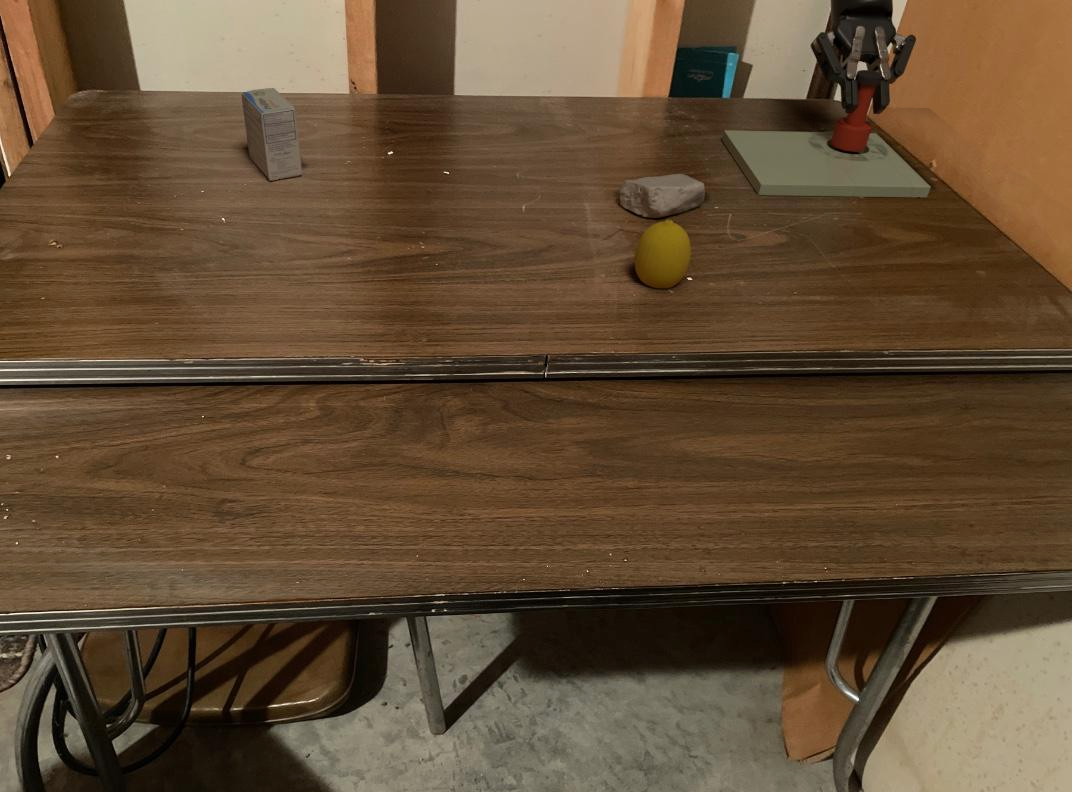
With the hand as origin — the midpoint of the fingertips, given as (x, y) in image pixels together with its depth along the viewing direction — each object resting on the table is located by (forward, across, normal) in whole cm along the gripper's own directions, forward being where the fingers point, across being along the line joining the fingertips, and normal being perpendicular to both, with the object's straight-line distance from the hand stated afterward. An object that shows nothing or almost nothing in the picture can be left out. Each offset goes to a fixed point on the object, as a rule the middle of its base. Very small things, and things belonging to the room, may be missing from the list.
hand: (866, 110), depth 120 cm
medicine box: (+9, -77, +2) cm, 78 cm away
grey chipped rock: (+16, -29, -6) cm, 33 cm away
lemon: (+30, -34, -20) cm, 49 cm away
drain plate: (+6, -5, +4) cm, 9 cm away
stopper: (+2, 0, +5) cm, 6 cm away
